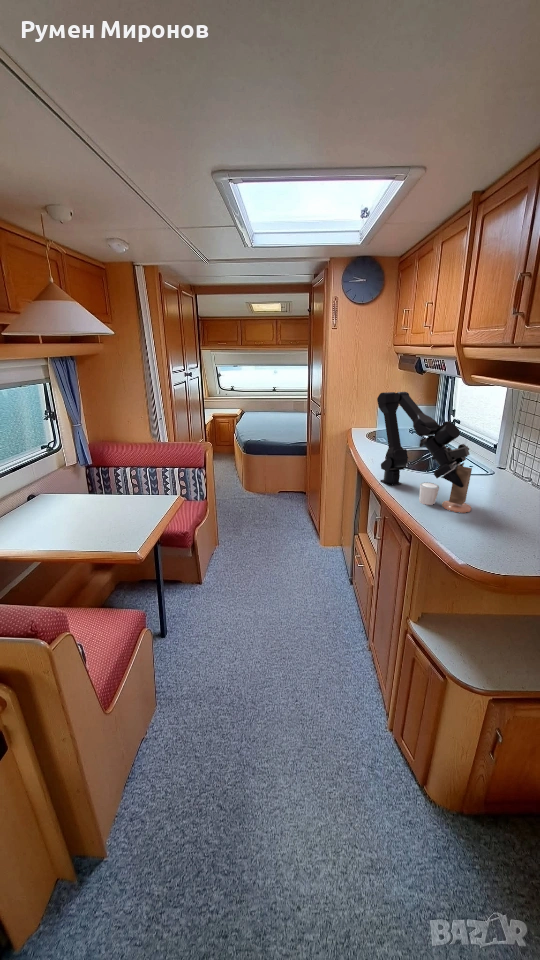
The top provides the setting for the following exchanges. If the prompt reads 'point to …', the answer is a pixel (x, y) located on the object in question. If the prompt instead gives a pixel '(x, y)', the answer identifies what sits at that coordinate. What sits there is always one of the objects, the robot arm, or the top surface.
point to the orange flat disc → (456, 507)
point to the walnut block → (459, 493)
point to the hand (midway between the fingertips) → (464, 485)
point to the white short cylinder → (428, 493)
